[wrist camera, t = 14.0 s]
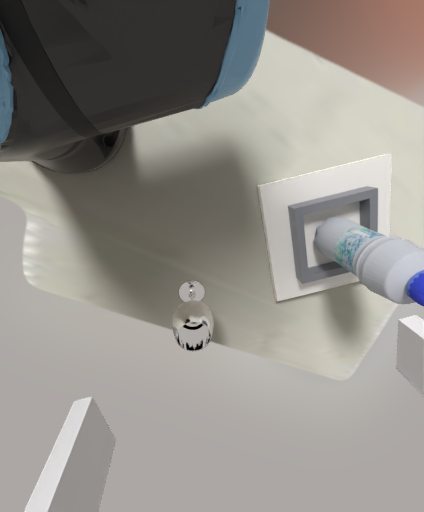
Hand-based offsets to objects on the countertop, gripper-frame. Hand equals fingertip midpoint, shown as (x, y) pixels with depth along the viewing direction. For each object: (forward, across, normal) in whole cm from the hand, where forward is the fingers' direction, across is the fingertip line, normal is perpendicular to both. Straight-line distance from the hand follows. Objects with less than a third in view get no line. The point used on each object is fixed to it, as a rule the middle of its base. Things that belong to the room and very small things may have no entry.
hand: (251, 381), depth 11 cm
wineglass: (+32, -5, -12) cm, 34 cm away
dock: (+32, +19, -7) cm, 38 cm away
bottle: (+30, +19, -7) cm, 36 cm away
